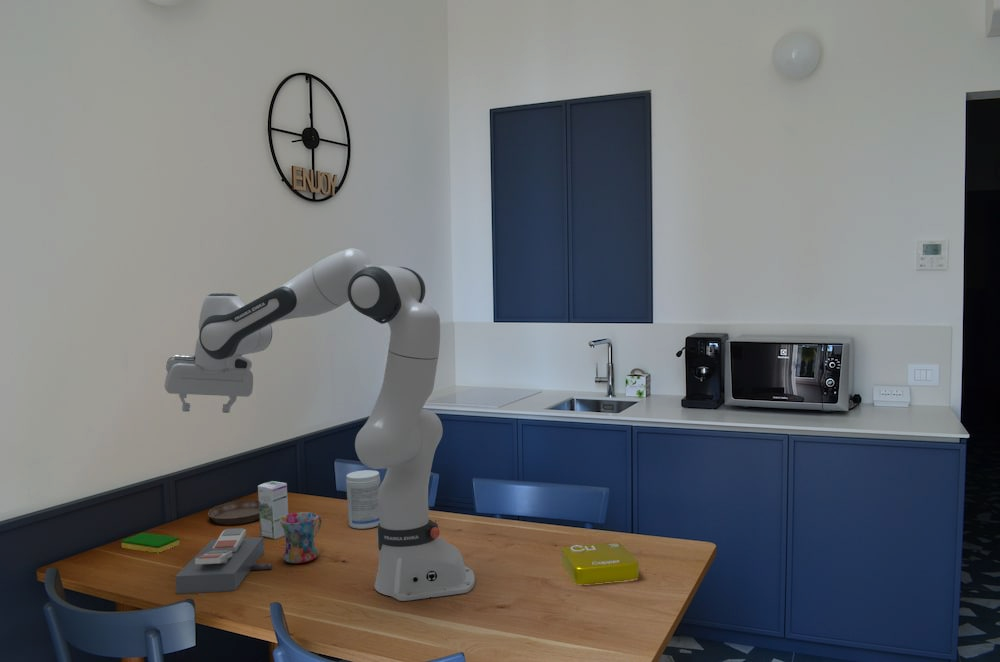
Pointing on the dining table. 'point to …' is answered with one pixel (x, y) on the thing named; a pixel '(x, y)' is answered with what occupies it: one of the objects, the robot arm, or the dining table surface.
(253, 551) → the switch panel
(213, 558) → the rocker
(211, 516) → the plant saucer
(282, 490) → the syrup box
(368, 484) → the supplement tub
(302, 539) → the mug
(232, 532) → the rocker
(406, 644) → the dining table surface
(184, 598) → the dining table surface
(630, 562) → the element tile
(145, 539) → the dish sponge
